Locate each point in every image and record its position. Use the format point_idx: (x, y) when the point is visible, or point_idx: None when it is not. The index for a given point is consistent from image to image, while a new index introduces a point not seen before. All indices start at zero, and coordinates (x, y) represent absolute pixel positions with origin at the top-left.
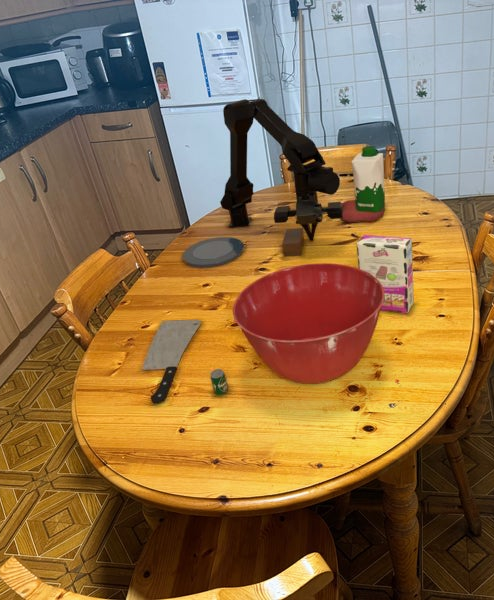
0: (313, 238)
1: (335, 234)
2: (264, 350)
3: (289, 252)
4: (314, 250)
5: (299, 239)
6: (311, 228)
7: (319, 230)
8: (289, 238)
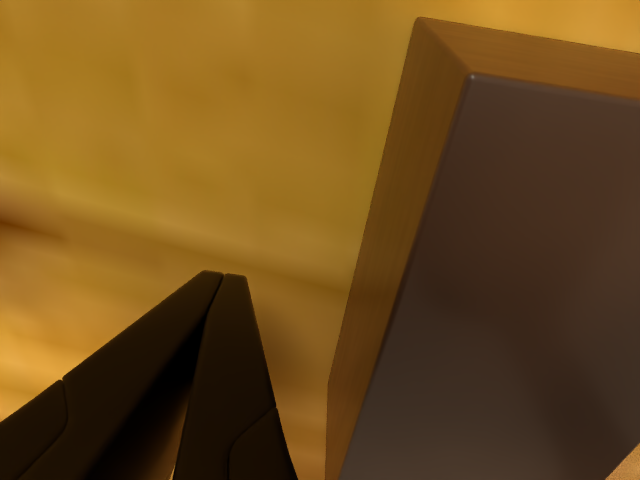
0: (180, 287)
1: None
2: None
3: (632, 58)
4: (218, 136)
5: (437, 243)
6: (95, 455)
7: None
8: (612, 337)
